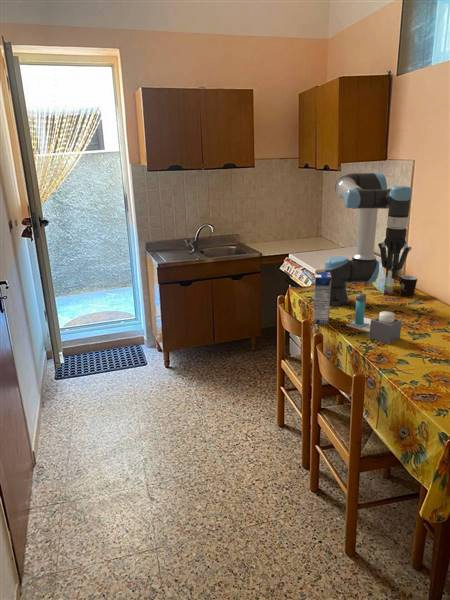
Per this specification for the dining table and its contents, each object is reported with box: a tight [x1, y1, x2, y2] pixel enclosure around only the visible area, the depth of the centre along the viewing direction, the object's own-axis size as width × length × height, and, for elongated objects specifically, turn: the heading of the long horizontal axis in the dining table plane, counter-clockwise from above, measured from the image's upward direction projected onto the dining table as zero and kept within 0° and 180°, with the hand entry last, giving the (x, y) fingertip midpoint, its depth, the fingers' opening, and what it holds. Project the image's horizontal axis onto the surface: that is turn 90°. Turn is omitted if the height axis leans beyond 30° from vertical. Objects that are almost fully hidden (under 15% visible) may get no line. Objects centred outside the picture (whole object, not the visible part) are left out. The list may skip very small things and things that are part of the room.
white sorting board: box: [346, 316, 373, 334], centre depth 202 cm, size 14×14×1 cm
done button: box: [378, 310, 396, 324], centre depth 186 cm, size 6×6×5 cm
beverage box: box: [312, 271, 331, 326], centre depth 205 cm, size 7×11×22 cm, turn 169°
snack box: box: [371, 259, 394, 296], centre depth 254 cm, size 21×6×15 cm, turn 179°
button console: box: [368, 316, 403, 345], centre depth 187 cm, size 9×9×8 cm
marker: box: [354, 292, 367, 325], centre depth 200 cm, size 4×4×13 cm
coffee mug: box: [398, 274, 419, 298], centre depth 245 cm, size 12×9×10 cm
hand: (389, 285), depth 182 cm, fingers closed
